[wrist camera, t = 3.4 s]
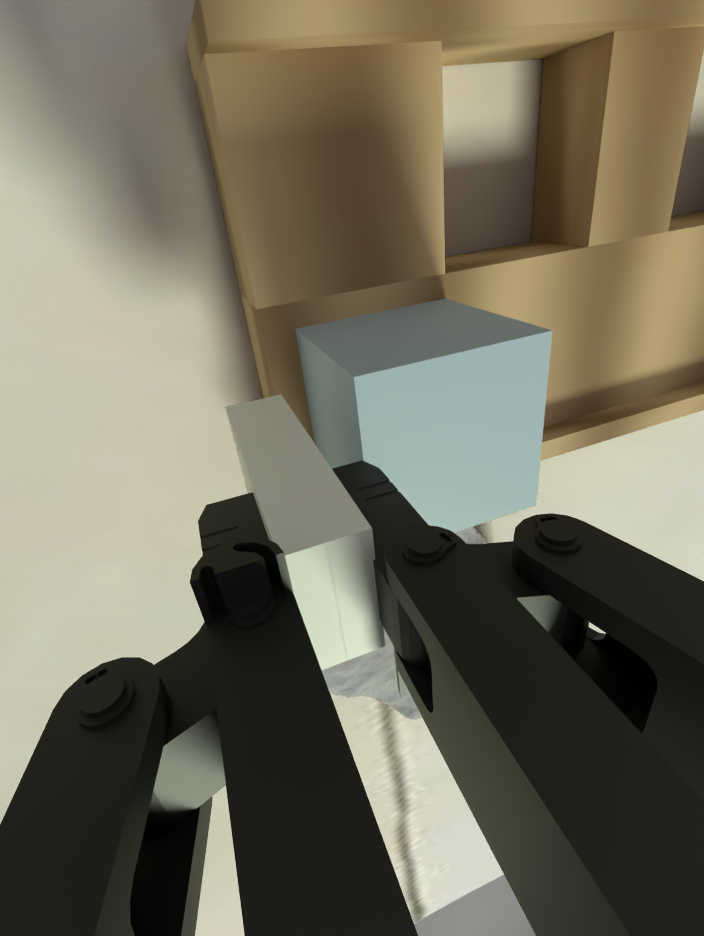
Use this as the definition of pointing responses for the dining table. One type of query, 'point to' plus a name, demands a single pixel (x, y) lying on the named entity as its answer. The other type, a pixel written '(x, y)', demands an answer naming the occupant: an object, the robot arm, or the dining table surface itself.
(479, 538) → the stone block
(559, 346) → the trap box
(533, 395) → the block
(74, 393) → the dining table surface
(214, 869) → the dining table surface
